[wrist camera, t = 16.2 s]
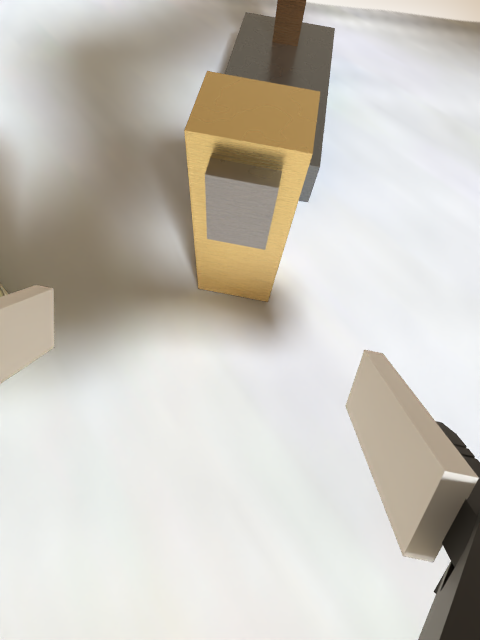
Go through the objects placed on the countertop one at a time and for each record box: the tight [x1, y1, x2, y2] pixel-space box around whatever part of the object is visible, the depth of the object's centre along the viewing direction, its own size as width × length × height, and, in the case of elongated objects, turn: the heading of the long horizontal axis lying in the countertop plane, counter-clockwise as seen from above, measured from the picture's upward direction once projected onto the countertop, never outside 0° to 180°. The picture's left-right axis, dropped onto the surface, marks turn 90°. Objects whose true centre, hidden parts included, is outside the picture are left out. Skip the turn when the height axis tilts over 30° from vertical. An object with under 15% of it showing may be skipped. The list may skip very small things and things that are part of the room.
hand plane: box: [225, 0, 335, 202], centre depth 27 cm, size 9×20×12 cm, turn 170°
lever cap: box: [184, 71, 320, 302], centre depth 19 cm, size 5×5×12 cm
